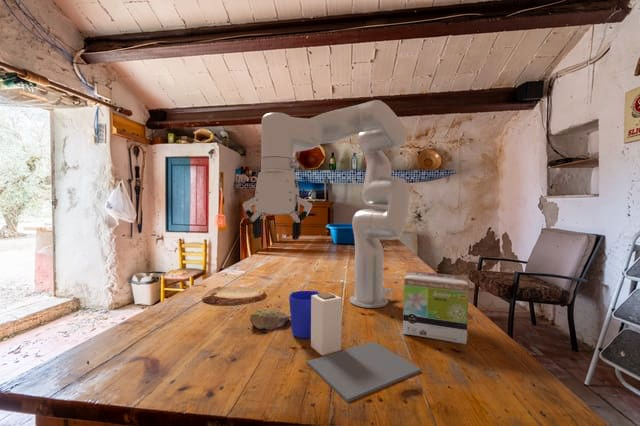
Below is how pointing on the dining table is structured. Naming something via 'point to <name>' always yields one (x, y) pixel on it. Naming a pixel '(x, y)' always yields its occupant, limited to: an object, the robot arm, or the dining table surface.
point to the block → (326, 323)
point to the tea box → (436, 306)
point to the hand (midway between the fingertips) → (276, 238)
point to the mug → (301, 313)
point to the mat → (362, 370)
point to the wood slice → (233, 295)
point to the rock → (269, 318)
